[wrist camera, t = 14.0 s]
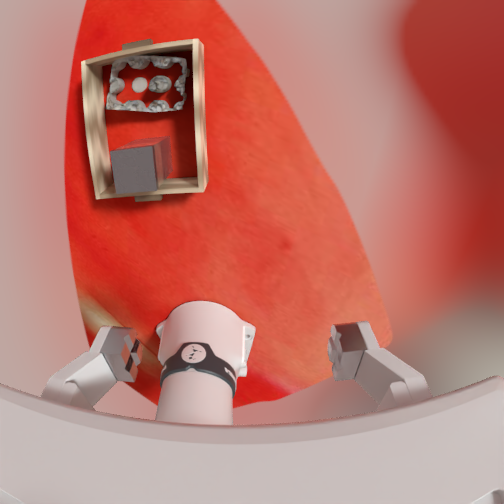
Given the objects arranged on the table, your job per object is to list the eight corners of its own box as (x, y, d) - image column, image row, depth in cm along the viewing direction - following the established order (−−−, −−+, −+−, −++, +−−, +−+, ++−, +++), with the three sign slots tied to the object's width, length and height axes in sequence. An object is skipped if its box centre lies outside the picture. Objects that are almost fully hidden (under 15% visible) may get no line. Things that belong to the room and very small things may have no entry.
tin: (170, 135, 37) (152, 146, 29) (173, 171, 39) (157, 190, 32) (135, 139, 36) (110, 151, 29) (139, 174, 39) (116, 194, 32)
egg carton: (113, 108, 34) (100, 111, 31) (120, 57, 31) (108, 55, 27) (185, 113, 35) (179, 115, 32) (195, 60, 32) (189, 56, 28)
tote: (208, 186, 40) (204, 198, 36) (111, 193, 40) (97, 205, 36) (203, 39, 30) (197, 31, 26) (98, 57, 30) (81, 55, 25)
